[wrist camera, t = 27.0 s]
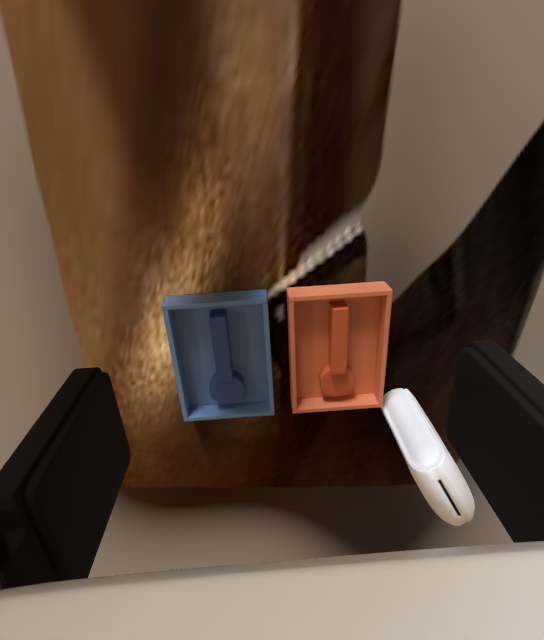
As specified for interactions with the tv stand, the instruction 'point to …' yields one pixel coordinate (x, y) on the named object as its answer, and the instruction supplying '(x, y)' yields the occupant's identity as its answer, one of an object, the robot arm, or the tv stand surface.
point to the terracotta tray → (362, 351)
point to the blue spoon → (223, 362)
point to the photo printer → (428, 458)
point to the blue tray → (198, 358)
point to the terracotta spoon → (337, 353)
